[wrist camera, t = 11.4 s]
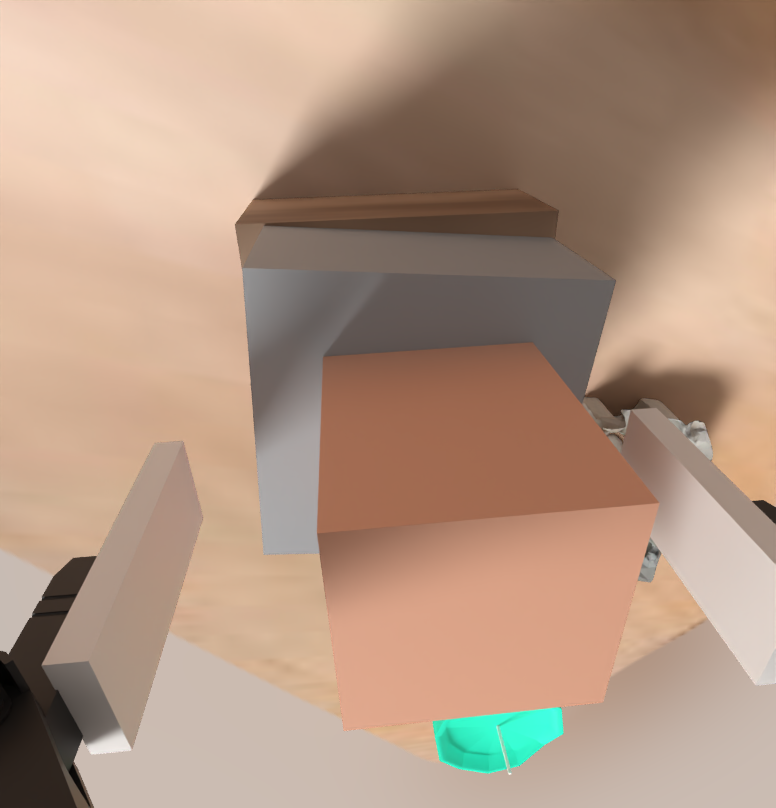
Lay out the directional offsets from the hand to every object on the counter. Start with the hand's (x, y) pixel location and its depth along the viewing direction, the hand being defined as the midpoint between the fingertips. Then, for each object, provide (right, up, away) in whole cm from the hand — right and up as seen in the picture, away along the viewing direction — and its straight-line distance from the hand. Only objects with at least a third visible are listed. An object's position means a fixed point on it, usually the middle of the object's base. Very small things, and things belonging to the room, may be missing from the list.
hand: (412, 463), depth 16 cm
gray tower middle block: (0, +3, +5) cm, 6 cm away
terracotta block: (+1, +1, +1) cm, 2 cm away
